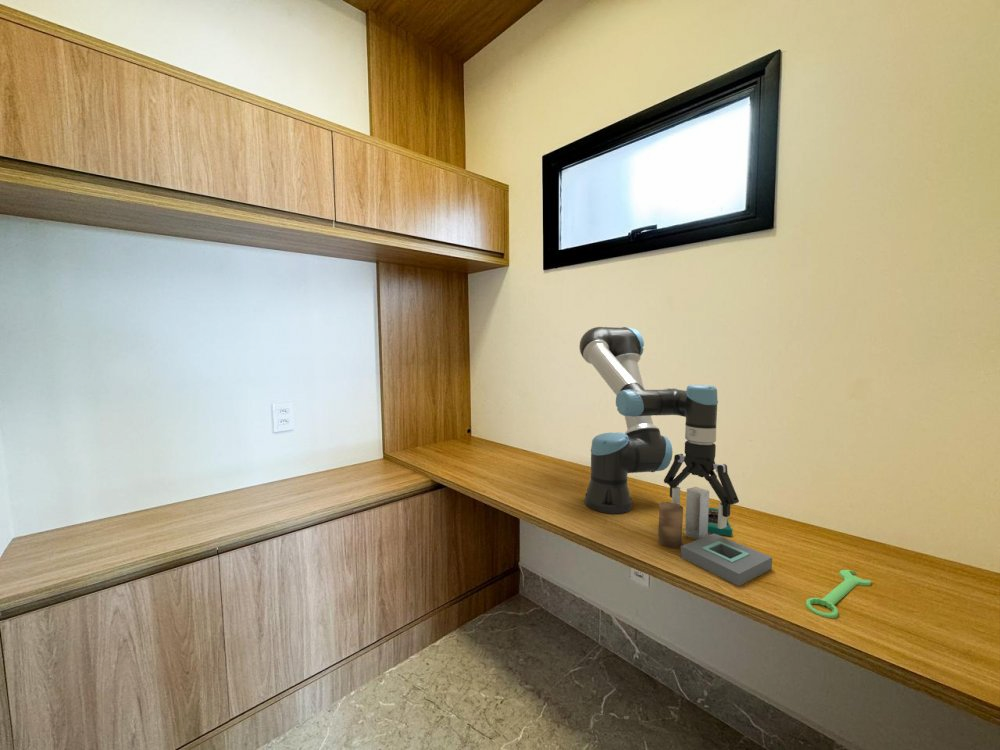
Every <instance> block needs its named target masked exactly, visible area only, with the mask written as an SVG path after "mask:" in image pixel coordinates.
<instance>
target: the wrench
mask: <svg viewBox="0 0 1000 750" xmlns="http://www.w3.org/2000/svg"><path fill="white" fill-rule="evenodd" d="M856 575H857V571H856V570H855V571H853V570H852V569H851V570H850V569H842V570H839V576H840V577H841V578H842V579H844V580H843V581H842V582H841V583H839V584H837V586H836V587H834V588H833V589H832V590H831V591H829V592H828V593H827V594H826V595H825V596H823V597H822V598H819V597H810V598H807V599H806V601H805V606H806V608H807V609H808V610H809V611H811V613H814V614H816V615H817V616H820V617H824V618H828V619H836V618H837V617H838V616H839V610H838V608H837V607H836V604H837V603H838V602H839V601H841V600H842V599H843V598H844V597H845V596H846V595H847V594H848V593H849V592H851V591H852V590H853V589H854V588H855V587H856V586H859V585H860V586H862V587H863V586H865V587H866V586H871V585H872V580H870V579H863V578H861V577H859V576H856ZM813 604H814V605H820V606H825V607H826V608H828V609H830V610H831V612H823V611H822V610H818V609H816V608H815V607H813Z"/></svg>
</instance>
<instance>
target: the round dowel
mask: <svg viewBox="0 0 1000 750" xmlns="http://www.w3.org/2000/svg"><path fill="white" fill-rule="evenodd" d="M658 506H659V508H658V530H657V531H658V533H657V542H658V544H660V545H661V546H662V547H665V548H668V549H681V546H682V545H683V543H682V542H683V523H684V522H683V521H684V520H683V519H684V507H683V506H682V505H681V504H680V505H679V504H676V503H672V501H662V502H660V503H659V505H658Z"/></svg>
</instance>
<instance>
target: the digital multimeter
mask: <svg viewBox="0 0 1000 750" xmlns="http://www.w3.org/2000/svg"><path fill="white" fill-rule="evenodd" d="M729 522H730V521H729V520H728V519H727V527H725V528H722V529H719V528H718V508H716V507H709V512H708V534H710V535H711V534H717V535H719V536H722V537H724V536H726V537H733V528H732V526H731V524H730V523H729Z"/></svg>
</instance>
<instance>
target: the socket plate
mask: <svg viewBox="0 0 1000 750" xmlns="http://www.w3.org/2000/svg"><path fill="white" fill-rule="evenodd" d="M680 558H681V559H684V560H686V561H688V562H690V563H691V564H694V565H696V566H698V567H699V568H701V569H704V570H705V571H708V572H710V573H711V574H714V575H716V576H718V577H720V578H722V579H724V580H725V581H727V582H729V583H731V584H733V585H735V586H737V587H739V586H742V585H744V584H745V583H748V582H749V581H752V580H753V579H755V578H757V577H759V576H761V575H763V574H764V573H765V574H766V573H767V572H769V571H770V570H772V568H773V566H772V565H773V556H770V555H767V554H765V553H762V552H760V551H758V550H755V549H753V548H750V547H748V546H746V545H744V544H741V543H738V542H736V541H734V540H731V539H728V538H727V537H724V536H723V535H717V534H711V533H710V534H709V535H707V536H706V537H703V538H701V539H698V540H696V539H695V540H694V541H691V542H688V543H685V544H682V546H681V547H680Z"/></svg>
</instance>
